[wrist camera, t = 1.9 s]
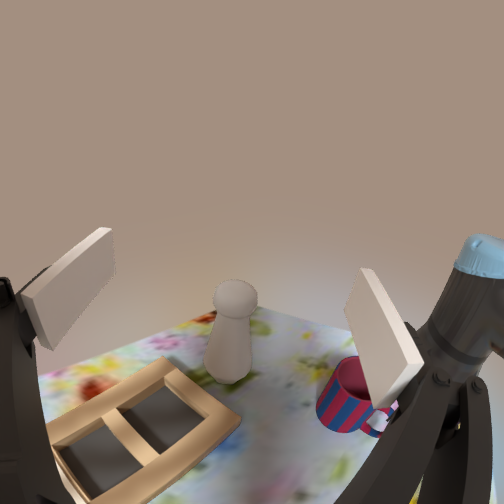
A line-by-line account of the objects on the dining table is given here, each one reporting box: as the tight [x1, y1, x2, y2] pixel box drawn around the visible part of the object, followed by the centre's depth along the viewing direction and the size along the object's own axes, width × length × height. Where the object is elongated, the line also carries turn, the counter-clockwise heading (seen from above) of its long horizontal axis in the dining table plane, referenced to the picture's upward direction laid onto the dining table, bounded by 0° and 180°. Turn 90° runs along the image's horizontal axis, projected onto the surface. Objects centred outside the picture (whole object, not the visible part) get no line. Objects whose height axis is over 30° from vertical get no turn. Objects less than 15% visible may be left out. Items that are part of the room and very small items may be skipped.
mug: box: [316, 356, 394, 438], centre depth 25 cm, size 7×10×7 cm
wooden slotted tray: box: [46, 356, 241, 504], centre depth 16 cm, size 12×30×2 cm, turn 144°
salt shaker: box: [203, 280, 257, 385], centre depth 29 cm, size 6×6×13 cm
